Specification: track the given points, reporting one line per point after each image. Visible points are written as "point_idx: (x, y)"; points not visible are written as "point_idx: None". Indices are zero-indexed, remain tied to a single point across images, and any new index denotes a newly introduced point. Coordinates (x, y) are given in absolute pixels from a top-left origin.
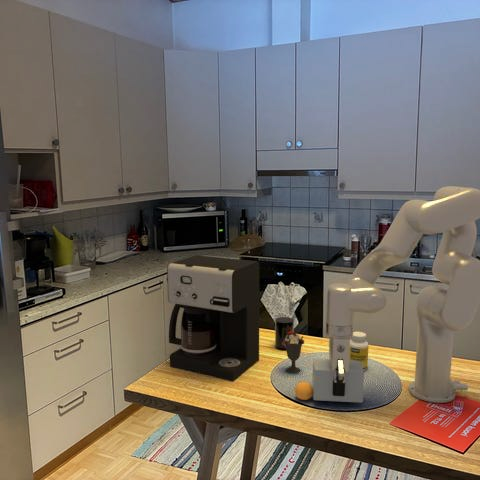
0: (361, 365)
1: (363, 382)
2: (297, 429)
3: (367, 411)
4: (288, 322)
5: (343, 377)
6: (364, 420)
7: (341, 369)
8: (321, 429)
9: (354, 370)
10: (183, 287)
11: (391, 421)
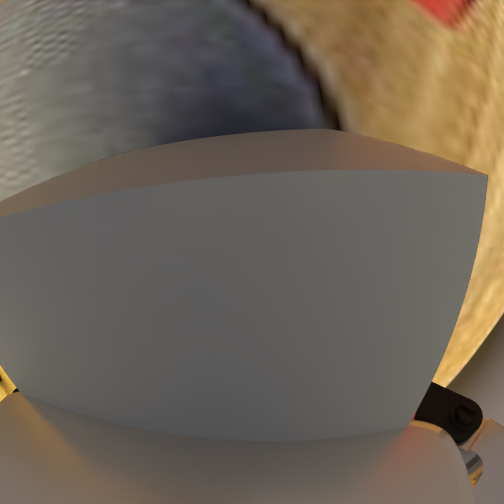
0: (29, 209)
1: (382, 141)
2: (454, 375)
3: (351, 100)
4: None
5: (480, 422)
6: (443, 140)
7: (502, 498)
8: (475, 320)
9: (374, 381)
10: None
11: (428, 9)
